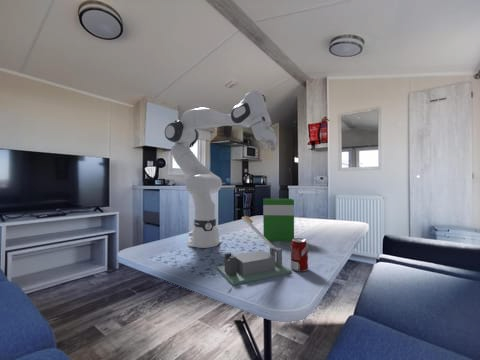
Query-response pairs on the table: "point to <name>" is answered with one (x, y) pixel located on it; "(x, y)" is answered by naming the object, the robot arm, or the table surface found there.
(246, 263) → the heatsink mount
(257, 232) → the strap
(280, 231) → the green cereal box
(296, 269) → the soda can
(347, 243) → the table surface
